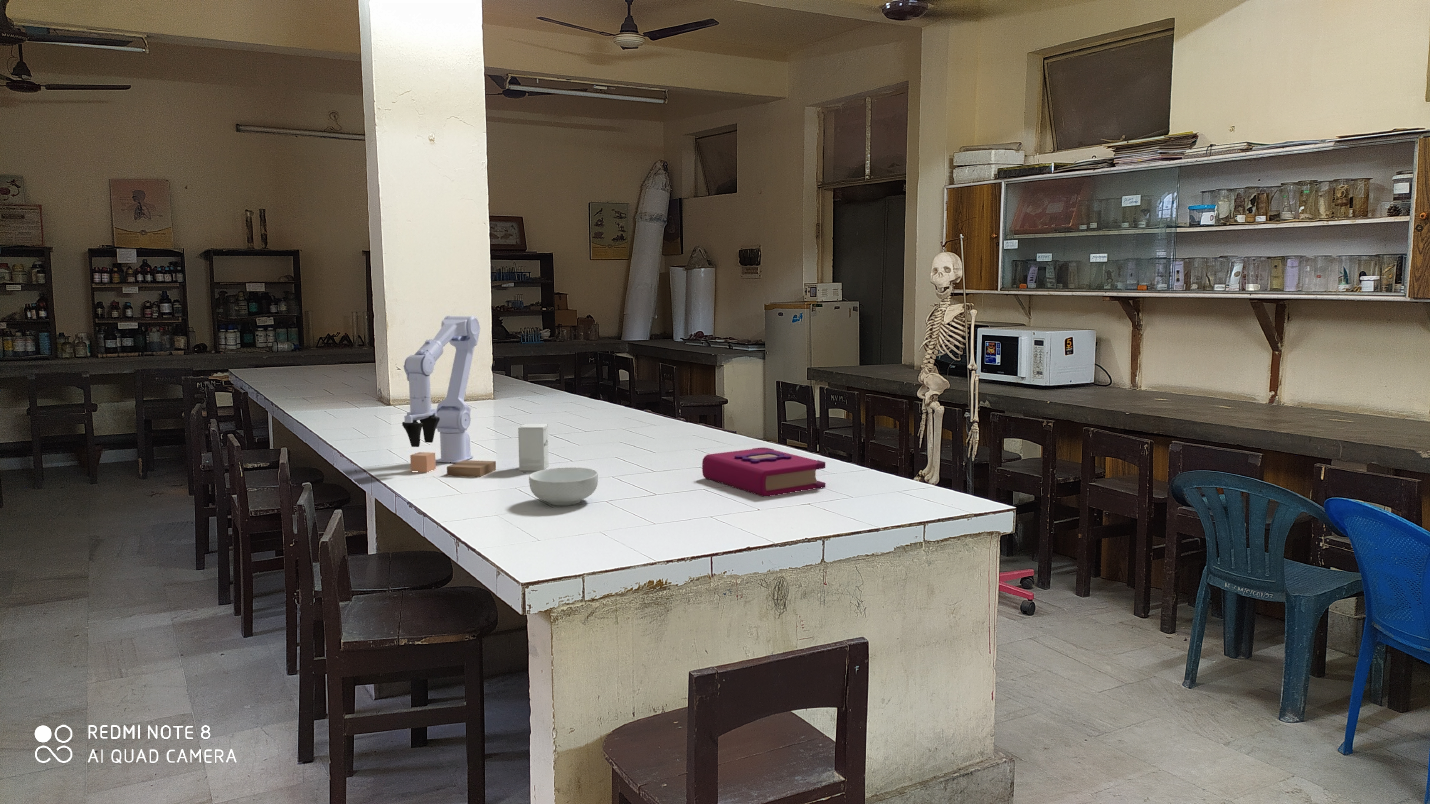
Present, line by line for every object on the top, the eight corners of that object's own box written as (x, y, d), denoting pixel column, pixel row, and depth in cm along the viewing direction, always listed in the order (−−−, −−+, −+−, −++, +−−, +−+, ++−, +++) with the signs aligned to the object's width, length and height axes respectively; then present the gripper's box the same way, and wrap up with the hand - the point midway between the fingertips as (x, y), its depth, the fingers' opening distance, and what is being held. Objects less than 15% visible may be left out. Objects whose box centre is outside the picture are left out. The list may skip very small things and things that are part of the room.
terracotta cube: (420, 469, 282) (419, 452, 282) (435, 469, 281) (435, 452, 281) (411, 472, 278) (410, 455, 277) (427, 473, 277) (426, 455, 276)
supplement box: (544, 471, 278) (543, 427, 276) (518, 471, 278) (517, 427, 276) (549, 466, 285) (548, 423, 284) (524, 466, 285) (522, 423, 284)
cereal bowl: (524, 497, 245) (523, 469, 244) (589, 492, 250) (588, 465, 250) (536, 512, 229) (535, 483, 228) (606, 506, 235) (605, 477, 234)
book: (762, 499, 243) (762, 469, 242) (702, 480, 266) (701, 452, 265) (827, 489, 254) (827, 460, 253) (764, 471, 278) (764, 445, 277)
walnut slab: (463, 470, 282) (463, 460, 282) (496, 471, 280) (495, 461, 280) (447, 477, 273) (446, 466, 272) (480, 478, 270) (479, 467, 270)
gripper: (420, 393, 285) (422, 440, 286) (393, 399, 271) (395, 448, 272) (442, 394, 283) (444, 440, 285) (416, 400, 269) (418, 449, 271)
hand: (422, 444), depth 278 cm, fingers open, 7 cm apart
